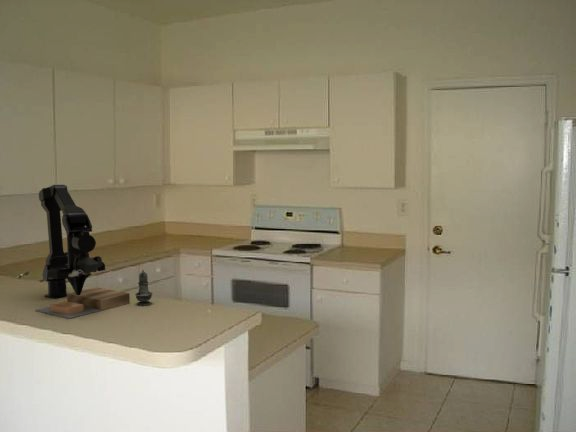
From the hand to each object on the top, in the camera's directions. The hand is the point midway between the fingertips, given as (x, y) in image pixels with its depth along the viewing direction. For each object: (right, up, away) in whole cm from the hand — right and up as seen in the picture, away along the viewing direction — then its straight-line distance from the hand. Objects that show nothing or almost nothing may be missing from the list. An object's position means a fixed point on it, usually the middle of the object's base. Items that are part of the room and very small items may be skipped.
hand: (78, 295), depth 194 cm
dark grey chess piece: (+20, -4, +6) cm, 22 cm away
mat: (-2, -5, -3) cm, 6 cm away
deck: (+4, -4, +7) cm, 9 cm away
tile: (-2, -3, -4) cm, 5 cm away
